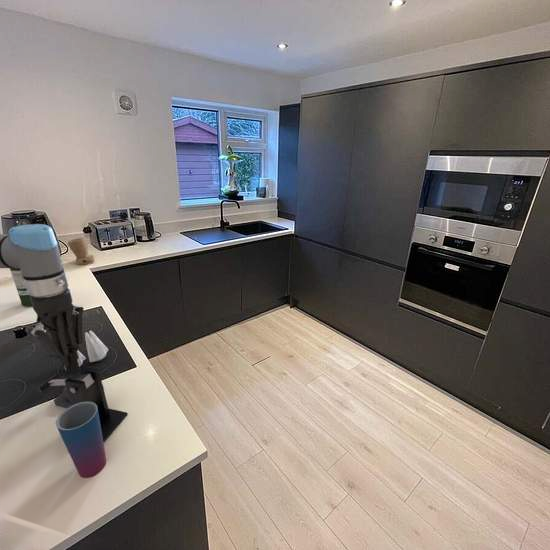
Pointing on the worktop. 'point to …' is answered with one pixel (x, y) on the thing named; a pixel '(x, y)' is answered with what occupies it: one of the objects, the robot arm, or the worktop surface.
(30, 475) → the worktop surface
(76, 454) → the cup
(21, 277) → the wine bottle
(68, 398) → the button housing
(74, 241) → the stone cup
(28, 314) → the worktop surface
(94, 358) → the shaker set
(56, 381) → the toaster lever
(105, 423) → the bracket
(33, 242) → the robot arm
